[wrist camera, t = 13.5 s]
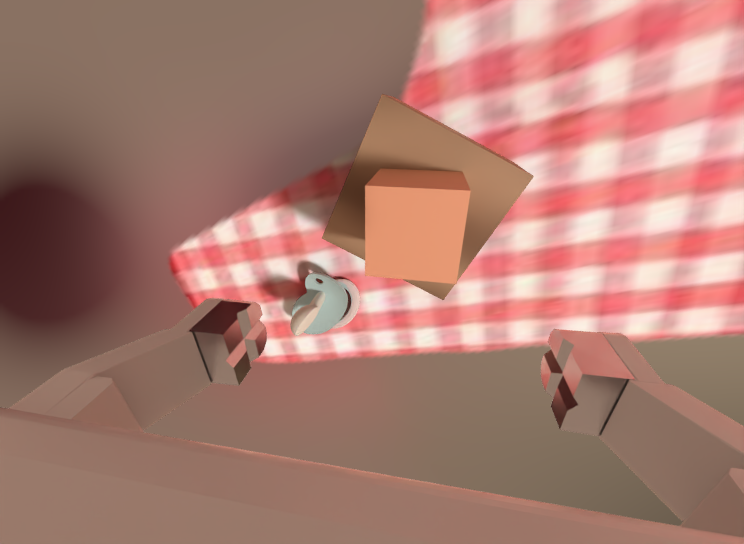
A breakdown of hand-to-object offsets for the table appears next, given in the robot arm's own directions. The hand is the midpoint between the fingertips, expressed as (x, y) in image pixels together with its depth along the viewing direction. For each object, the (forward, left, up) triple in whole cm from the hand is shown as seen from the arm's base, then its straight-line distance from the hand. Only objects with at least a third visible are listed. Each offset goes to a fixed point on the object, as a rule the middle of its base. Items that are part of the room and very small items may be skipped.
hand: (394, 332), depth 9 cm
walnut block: (0, 0, -19) cm, 19 cm away
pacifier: (+11, -9, -19) cm, 24 cm away
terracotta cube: (0, 0, -13) cm, 13 cm away
